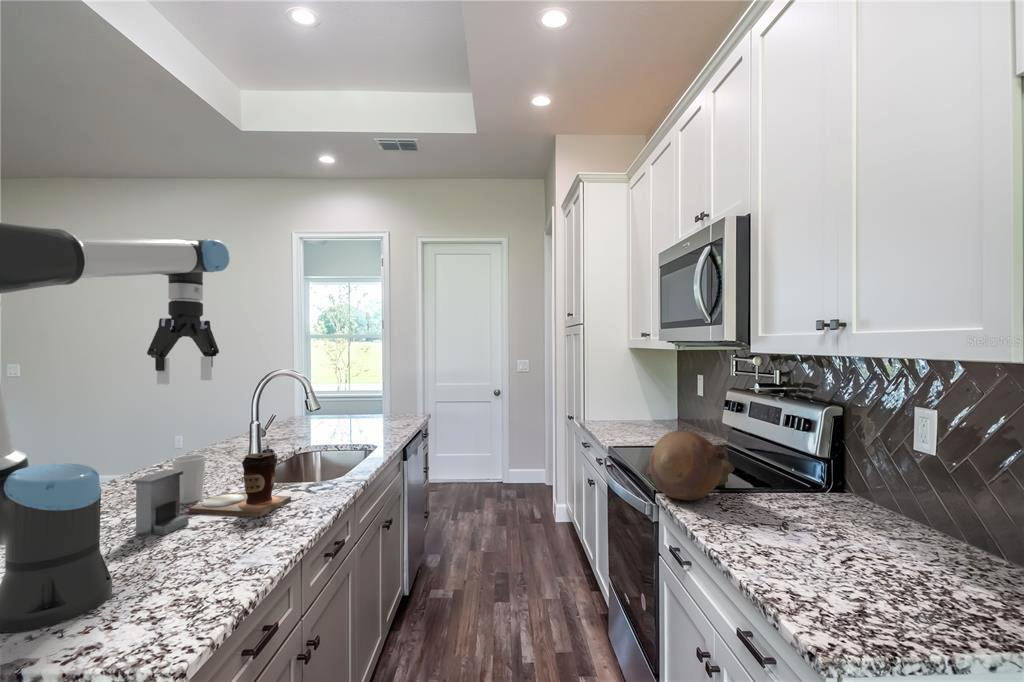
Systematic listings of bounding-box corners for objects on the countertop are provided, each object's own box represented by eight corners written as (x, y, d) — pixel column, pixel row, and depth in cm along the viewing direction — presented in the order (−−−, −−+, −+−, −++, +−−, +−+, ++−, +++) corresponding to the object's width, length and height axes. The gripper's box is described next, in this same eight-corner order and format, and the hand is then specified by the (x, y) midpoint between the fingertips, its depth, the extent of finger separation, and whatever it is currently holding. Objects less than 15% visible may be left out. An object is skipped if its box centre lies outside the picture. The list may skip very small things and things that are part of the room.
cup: (211, 498, 138) (211, 456, 138) (180, 506, 132) (180, 462, 132) (197, 493, 143) (197, 453, 143) (167, 501, 136) (167, 458, 136)
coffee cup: (261, 508, 125) (261, 458, 125) (233, 506, 127) (234, 457, 127) (283, 498, 134) (283, 451, 134) (257, 496, 135) (257, 450, 135)
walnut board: (260, 516, 123) (260, 511, 123) (188, 512, 126) (188, 507, 126) (291, 500, 136) (291, 495, 136) (224, 497, 139) (224, 491, 139)
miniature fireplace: (160, 536, 111) (160, 481, 111) (132, 534, 112) (132, 480, 112) (191, 522, 120) (191, 471, 120) (165, 520, 121) (165, 470, 121)
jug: (680, 514, 125) (746, 512, 141) (701, 443, 123) (765, 449, 139) (626, 480, 142) (690, 481, 158) (644, 417, 141) (707, 425, 156)
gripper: (156, 296, 112) (156, 386, 112) (233, 304, 137) (233, 378, 137) (128, 296, 113) (128, 386, 113) (210, 305, 138) (209, 378, 138)
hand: (185, 382), depth 125 cm, fingers open, 13 cm apart
